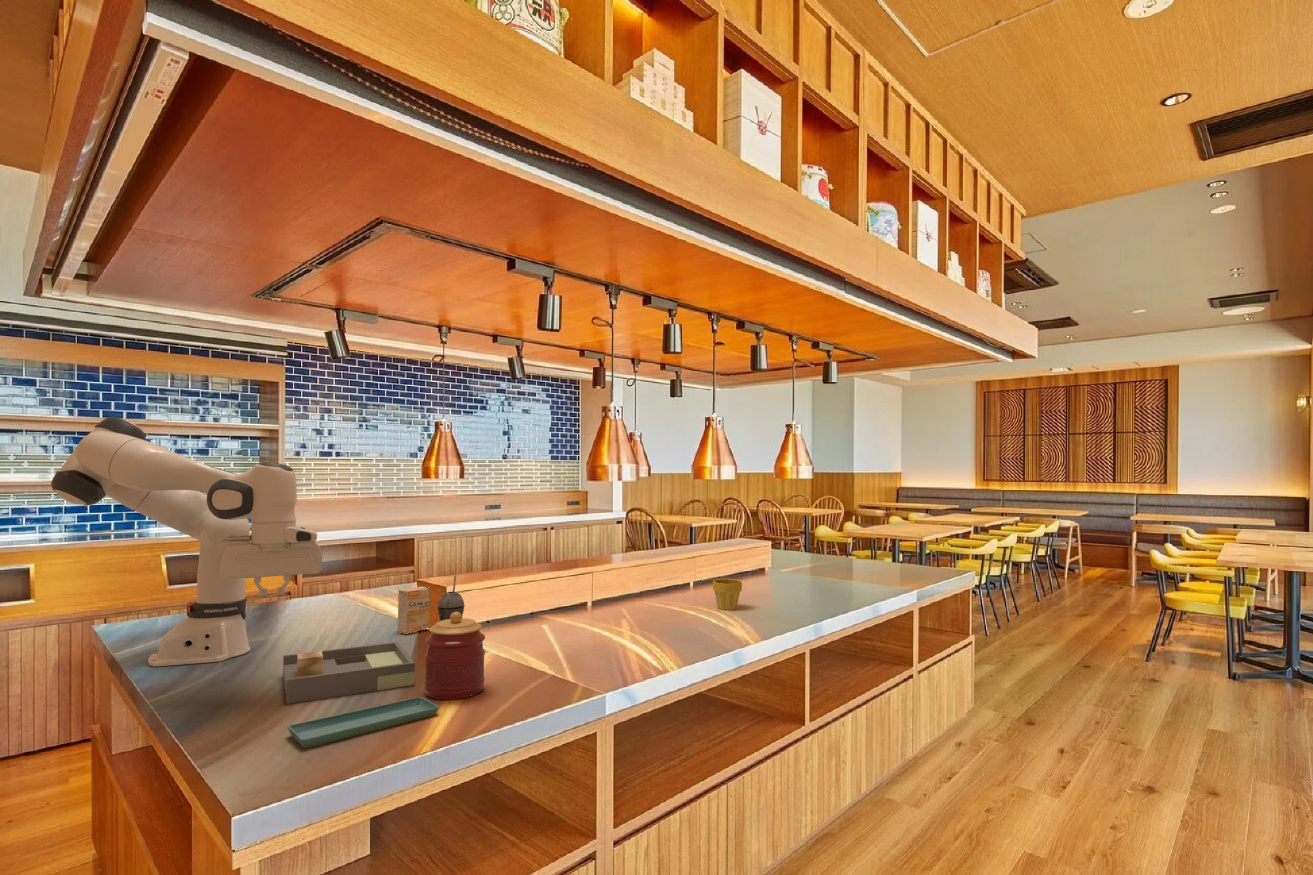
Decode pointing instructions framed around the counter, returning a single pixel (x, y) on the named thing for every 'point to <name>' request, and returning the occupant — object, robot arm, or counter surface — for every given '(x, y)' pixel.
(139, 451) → the robot arm
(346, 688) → the trap board
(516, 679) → the counter surface
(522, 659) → the counter surface
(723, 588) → the plant pot
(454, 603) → the beverage cup
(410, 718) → the rectangular tray
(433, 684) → the canister
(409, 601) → the supplement box
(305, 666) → the birch block
